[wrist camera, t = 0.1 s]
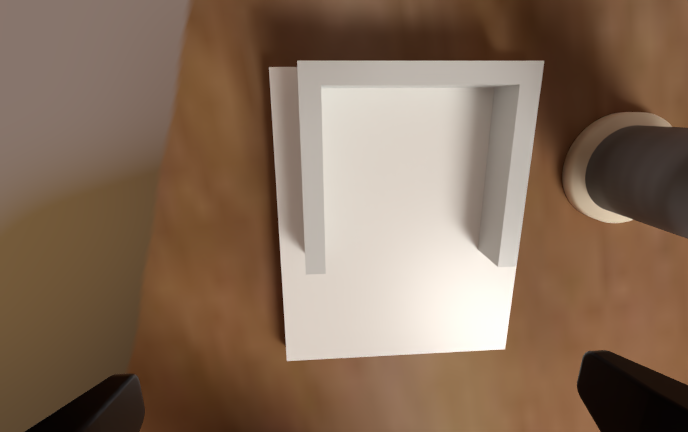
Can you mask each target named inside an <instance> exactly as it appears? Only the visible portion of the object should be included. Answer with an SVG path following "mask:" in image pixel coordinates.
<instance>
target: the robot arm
mask: <svg viewBox="0 0 688 432" xmlns="http://www.w3.org/2000/svg"><path fill="white" fill-rule="evenodd" d="M577 389H578V393H579V395H580V397H581V399H582V401H583V402H584V404H585V406H586V408H587V409H588V411H589V413H590V414H591V416H592V418H593V419H594V421H595V423H596V425H597V426H598V428H599V430H600V431H601V432H688V385H686V384H684V383H681V382H679V381H677V380H674V379H672V378H670V377H667V376H665V375H663V374H661V373H658V372H656V371H654V370H651V369H649V368H647V367H644V366H642V365H640V364H638V363H635V362H633V361H631V360H628V359H626V358H624V357H621V356H619V355H617V354H615V353H612V352H610V351H606V350H599V351H588V352H586V353H585V354H584V355H583V358H582V363H581V367H580V371H579V376H578V380H577ZM144 414H145V408H144V402H143V397H142V392H141V387H140V382H139V378H138V377H137V375H135V374H116V375H112V376H110V377H108V378H107V379H105V380H104V381H102V382H101V383H99V384H98V385H96V386H95V387H93V388H91V389H90V390H89V391H87V392H85V393H84V394H82V395H81V396H79V397H77V398H76V399H74V400H73V401H71V402H70V403H68V404H67V405H65V406H64V407H62V408H60V409H59V410H57V411H56V412H55V413H53V414H51V415H50V416H48V417H47V418H45V419H44V420H42V421H40V422H39V423H37V424H36V425H34V426H33V427H31V428H30V429H28V430H27V431H25V432H139V431H140V429H141V426H142V423H143V419H144Z"/></svg>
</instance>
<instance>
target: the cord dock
mask: <svg viewBox="0 0 688 432" xmlns="http://www.w3.org/2000/svg"><path fill="white" fill-rule="evenodd" d="M543 68H544V61H297V67H269V77H270V94H271V110H272V126H273V142H274V159H275V175H276V191H277V207H278V224H279V240H280V256H281V272H282V289H283V305H284V321H285V337H286V354H287V361H295V360H314V359H332V358H351V357H369V356H388V355H406V354H425V353H443V352H462V351H480V350H499V349H505V345H506V338H507V331H508V323H509V316H510V309H511V301H512V294H513V286H514V279H515V272H516V266H517V258H518V251H519V244H520V236H521V229H522V222H523V214H524V207H525V200H526V192H527V185H528V178H529V170H530V163H531V156H532V148H533V141H534V134H535V126H536V119H537V112H538V104H539V97H540V90H541V82H542V75H543Z"/></svg>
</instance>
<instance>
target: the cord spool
mask: <svg viewBox="0 0 688 432" xmlns="http://www.w3.org/2000/svg"><path fill="white" fill-rule="evenodd" d="M562 183H563V189H564V192H565V195H566V197H567V199H568V201H569V202H570V203H571V205H572V206H573V207H574V208H575V209H576V210H578V211H579V212H581V213H582V214H584V215H587V216H589V217H592V218H594V219H597V220H600V221H603V222H608V223H622V222H627V221H631V220H636V221H639V222H642V223H645V224H648V225H650V226H653V227H656V228H659V229H662V230H665V231H668V232H671V233H673V234H676V235H679V236H682V237H685V238H688V128H681V127H672V126H671V125H670V124H669V123H668V122H667V121H666V120H664V119H663V118H661V117H659V116H657V115H654V114H651V113H645V112H619V113H614V114H610V115H607V116H604V117H602V118H600V119H598V120H596V121H595V122H593V123H592V124H590V125H589V126H588V127H587V128H585V129H584V130H583V131H582V132H581V133H580V134H579V136H578V137H577V138H576V139H575V141H574V142H573V144H572V145H571V147H570V149H569V151H568V153H567V155H566V158H565V161H564V165H563V171H562Z"/></svg>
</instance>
